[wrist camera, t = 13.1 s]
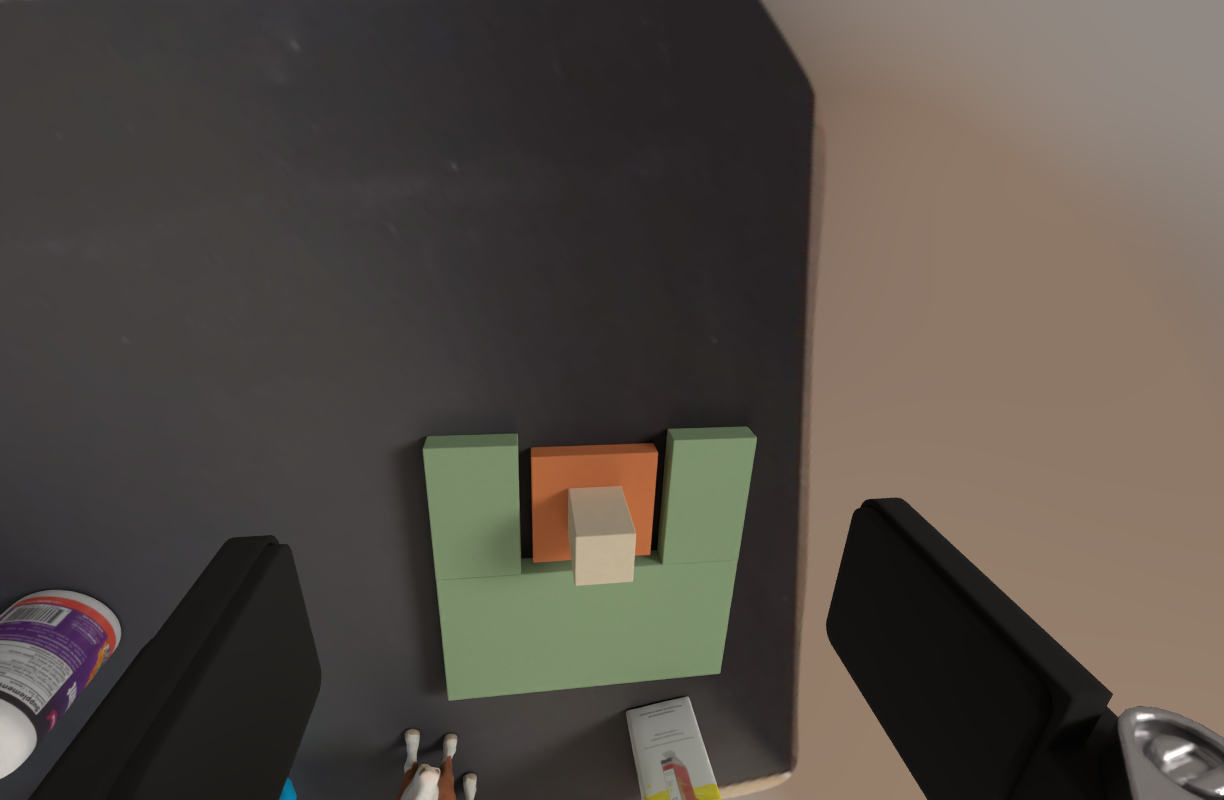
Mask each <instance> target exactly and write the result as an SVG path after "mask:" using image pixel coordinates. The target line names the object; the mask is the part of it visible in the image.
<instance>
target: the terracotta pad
mask: <svg viewBox="0 0 1224 800" xmlns="http://www.w3.org/2000/svg"><path fill="white" fill-rule="evenodd" d="M657 461H658V451H657V449H656V447H655V445H654V443H642V444H614V445H586V446H559V447H532V448H531V493H532V542H533V562H534V563H535V562H550V561H565V560H571V561H572V569H573V576H574V584H575V586H582V585H595V584H609V583H622V582H632V581H633V574H634V559H635V556H640V555H650V550H651V538H652V525H653V512H654V500H655V487H656V474H657Z"/></svg>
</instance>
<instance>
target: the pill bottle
mask: <svg viewBox="0 0 1224 800" xmlns="http://www.w3.org/2000/svg"><path fill="white" fill-rule="evenodd" d="M120 638H121V627H120V624H119V621H118V619H117V617H116V616H115V614H114V613H113V612H112V611H111V610H110V609H109V608H108V607H107V606H105V605H104V604H103V603H101V602H99V601H98V600H96V599H94V598H92V597H89V596H87V595H84V594H81V593H77V592H72V591H66V590H46V591H40V592H36V593H33V594H30V595H28V596H25V597H24V598H22V599H20V600H18V601H17V602H16V603H14V604H13V605H12V606H11V607H9V608H8V609H7V610H6V611H5V612H4V613H2V614H1V615H0V779H1V778H3V777H5V776H7V775H8V774H10V773H11V772H13V771H14V770H16V769H17V768H18V767H19V766H20V765H21V764H22V763H23V762H24V761H25V760H26V759H27V758H28V757H29V756H30V754H31V753H32V752H33V751H34V750H35V749H36V747H37V746H38V745H39V744H40V742H41V741H42V740H43V739H44V737H45V736H46V735H47V734H48V733H49V731H50V730H51V729H52V727H54V725H55V724H56V723H57V721H58V720H59V719H60V718H61V716H62V715H63V714H64V713H65V712H66V710H67V709H68V708H69V707H70V705H71V704H72V703H73V702H74V701H75V699H76V698H77V697H78V696H79V694H80V693H81V692H82V691H83V689H84V688H85V687H86V686H87V684H88V683H89V682H90V681H91V680H92V678H93V677H94V676H95V675H96V673H97V672H98V671H99V670H100V668H101V667H102V666H103V665H104V664H105V662H106V661H107V660H108V659H109V657H110V656H111V654H112V653H113V652H114V650H115V649H116V648H117V646H118V644H119V641H120Z"/></svg>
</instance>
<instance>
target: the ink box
mask: <svg viewBox="0 0 1224 800" xmlns="http://www.w3.org/2000/svg"><path fill="white" fill-rule="evenodd" d="M626 717H627V723H628V728H629V733H630V739H631V744H632V750H633V755H634V760H635V766H636V771H637V776H638V782H639V787H640V792H641V797H642V800H722V799H721V796H720V793H719V790H718V787H717V783H716V780H715V777H714V774H713V771H712V768H711V765H710V762H709V759H708V755H707V752H706V749H705V746H704V743H703V740H702V737H701V733H700V730H699V727H698V724H697V721H696V718H695V715H694V712H693V708H692V705H691V702H690V699H689V697H682V698H678V699H673V700H668V701H664V702H660V703H656V704H652V705H648V706H644V707H640V708H636V709H632V710H628V711H626Z"/></svg>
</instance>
